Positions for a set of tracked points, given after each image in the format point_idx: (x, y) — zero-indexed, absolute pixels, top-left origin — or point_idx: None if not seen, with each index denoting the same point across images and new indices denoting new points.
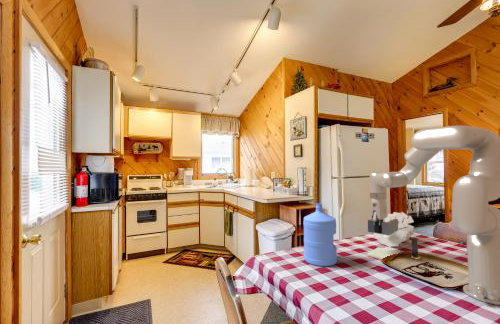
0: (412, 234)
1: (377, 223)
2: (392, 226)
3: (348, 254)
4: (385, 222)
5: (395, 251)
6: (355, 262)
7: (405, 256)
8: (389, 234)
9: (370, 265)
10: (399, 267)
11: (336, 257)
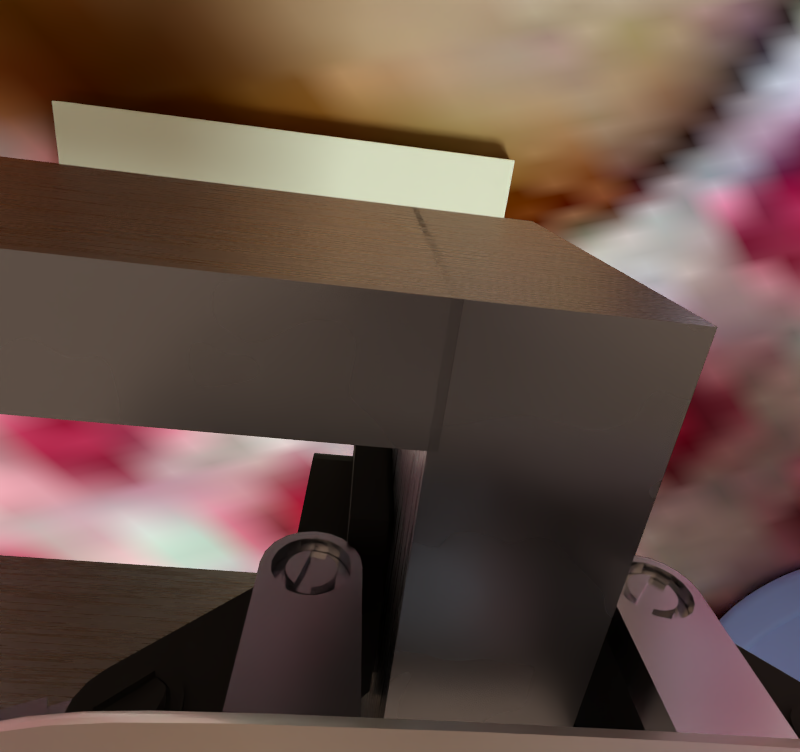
0: None
1: (767, 675)
2: (154, 209)
3: None
4: (567, 495)
5: (91, 166)
6: (734, 445)
7: (150, 10)
8: (503, 219)
9: (758, 312)
10: (677, 11)
11: None
